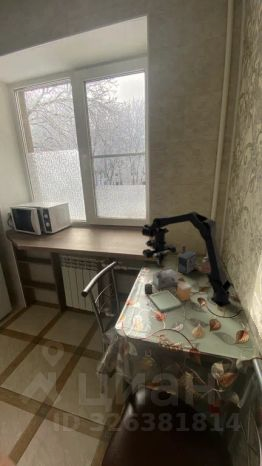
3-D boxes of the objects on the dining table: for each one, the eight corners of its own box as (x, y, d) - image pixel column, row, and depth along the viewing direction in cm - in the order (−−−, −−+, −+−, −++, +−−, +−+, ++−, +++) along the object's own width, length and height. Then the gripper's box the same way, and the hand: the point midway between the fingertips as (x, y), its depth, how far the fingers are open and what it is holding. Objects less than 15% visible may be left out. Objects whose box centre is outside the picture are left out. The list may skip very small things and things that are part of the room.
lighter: (215, 271, 127) (216, 256, 123) (215, 274, 124) (217, 259, 120) (201, 270, 128) (202, 255, 125) (201, 273, 125) (203, 258, 122)
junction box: (178, 283, 115) (179, 274, 113) (157, 289, 110) (157, 279, 108) (171, 277, 121) (171, 268, 119) (151, 282, 117) (151, 273, 115)
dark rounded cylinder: (153, 293, 108) (153, 286, 106) (146, 295, 106) (146, 288, 105) (150, 289, 111) (150, 282, 110) (143, 291, 110) (143, 284, 108)
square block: (190, 298, 103) (191, 286, 100) (182, 301, 101) (183, 288, 99) (184, 293, 107) (185, 281, 104) (177, 295, 105) (177, 283, 103)
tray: (181, 305, 98) (181, 303, 97) (160, 312, 94) (160, 309, 93) (167, 292, 108) (167, 289, 108) (148, 297, 104) (148, 295, 104)
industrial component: (188, 260, 142) (190, 243, 138) (189, 265, 136) (190, 248, 132) (174, 259, 144) (175, 243, 140) (174, 263, 138) (175, 247, 134)
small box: (186, 265, 135) (187, 250, 132) (195, 268, 131) (196, 253, 127) (177, 271, 128) (177, 255, 125) (186, 275, 124) (187, 259, 120)
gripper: (166, 232, 124) (166, 256, 129) (138, 237, 118) (138, 262, 123) (177, 238, 114) (176, 263, 119) (147, 243, 108) (147, 270, 113)
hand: (159, 264), depth 119 cm, fingers closed
